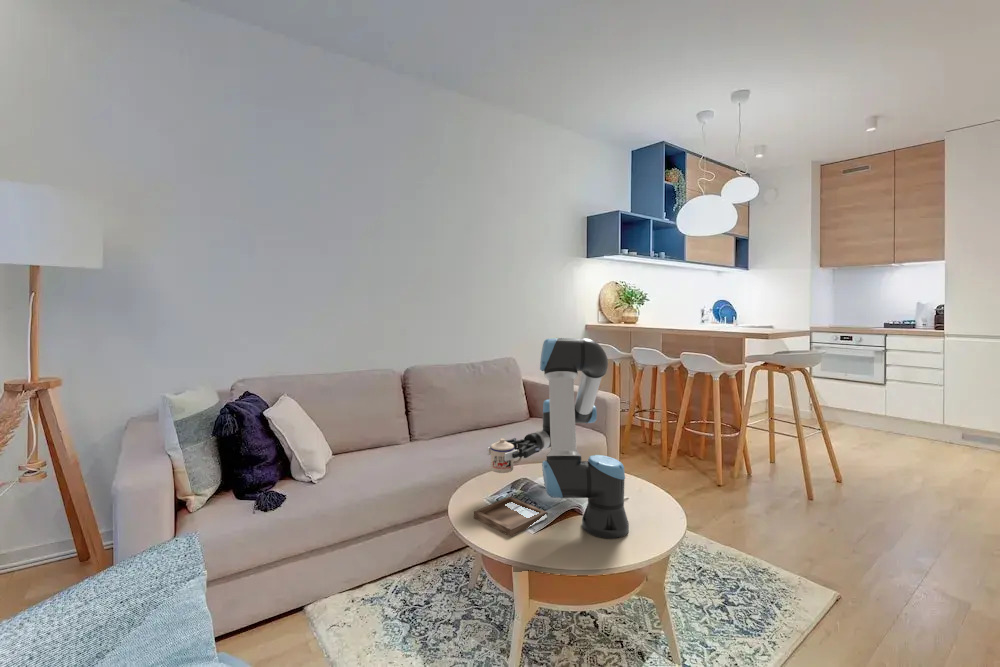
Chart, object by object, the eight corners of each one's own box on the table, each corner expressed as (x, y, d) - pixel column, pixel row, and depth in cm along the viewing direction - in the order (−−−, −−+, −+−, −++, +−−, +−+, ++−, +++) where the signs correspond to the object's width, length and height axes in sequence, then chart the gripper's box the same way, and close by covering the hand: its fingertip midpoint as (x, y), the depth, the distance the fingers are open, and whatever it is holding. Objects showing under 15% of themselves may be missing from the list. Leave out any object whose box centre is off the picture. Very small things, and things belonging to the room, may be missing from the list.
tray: (547, 518, 162) (547, 512, 162) (510, 536, 149) (511, 529, 149) (510, 502, 175) (510, 496, 175) (473, 517, 162) (473, 511, 162)
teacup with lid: (489, 473, 173) (489, 442, 172) (490, 464, 182) (490, 435, 181) (522, 474, 173) (522, 443, 172) (521, 465, 182) (521, 435, 181)
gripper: (556, 457, 183) (517, 471, 167) (517, 445, 198) (477, 457, 182) (557, 438, 182) (517, 451, 166) (517, 427, 197) (477, 438, 181)
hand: (496, 454), depth 174 cm, fingers closed on teacup with lid, 8 cm apart
